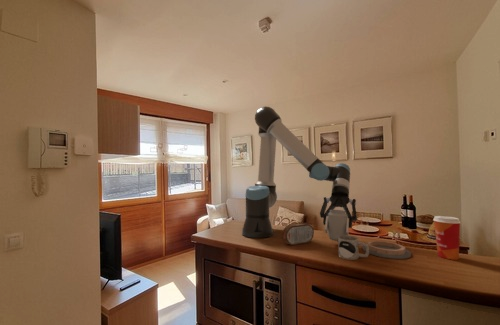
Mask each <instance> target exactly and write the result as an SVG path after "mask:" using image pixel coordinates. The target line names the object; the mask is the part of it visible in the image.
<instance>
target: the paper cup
mask: <svg viewBox="0 0 500 325" xmlns="http://www.w3.org/2000/svg"><path fill="white" fill-rule="evenodd" d="M432 221H433V223H434V230H435V231H434V232H435V241H436V248H437V250H436V251H437V256H438V257H439V258H441V259H446V260H450V259H451V261H458V260H459V256H460V229H461V228H460V227H461V226H460V225H461V223H462V222H461V221H460V218H458V217H454V216H446V215H443V216H442V215H434V218H433V219H432Z"/></svg>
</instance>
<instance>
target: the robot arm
mask: <svg viewBox="0 0 500 325" xmlns="http://www.w3.org/2000/svg"><path fill="white" fill-rule="evenodd" d="M254 121H255V124H256V125H257V126H258V133H257V134H258V136H259V138H260V146H259V147H260V148H259V158H258V159H259V160H258V163H259V164H258V175H257V181H256V182H255V183H254V185H252V186H248V187H247V188H246V189H245V194H244V195H245V220H244V222H243V225H242V226H243V227H242V229H241V235H242V234H243V235H242V236H244V237H247V238H252V239H255V238H256V239H261V238H269V237H272V236H273V235H274V229H273V227H272V222H271V219H270V208H272V207H273V206H274V205H275V203H276V202H277V198H278V197H277V196H278V195H277V184H276V183H275V181H274V179H275V178H274V177H275V162H276V150H277V149H276V148H277V142H278V143H280V145H281V146H282V147H284V149H285V150H286V151H287V152H288V153H289V154H290V155H292V157H293V158H295V160H296V161H297V162H298V163H299V164H300V165H301V166H302V167H304V169H305V170H307V172H308V176H309V179H314V180H316V181H322V182H323V181H327V182H332V186H331V194H330V197H327V196H326V197H323V203H322V205H321V209H320V212H319V217H320V218H322V219H323V221H322V223H323V224H322V225H323V226H324V233H326V234H328V213H329V212H330V210H336V208H342V209H343V211H345V214H346V215H347V226H346V235H347V236H350V234H349V233H350V232H349V230H350V229H351V228H353V222H357V221H358V215H357V210H356V209H357V208H356V205H357V199H356V198H353V199H350V196H349V195H350V181H351V168H350V166H349V165H348V164H346V163H337V164H336V165H335V166H330V165H327V164H325V163H324V162H323V161H322V160H320V158H319V157H317V155H315V153H314V152H312V150H310V149H309V148H308V147H307V146H306V145H305V144H304V143H303V142H302V141H301V140H300V139H299V138H298V137H297V136H296V135H295V134H294V133H293V132H292V131H291V130H290V129H289V128H288V127H287V126H286V125H285V124H283V122H282V118H281V116H280V115H279V114H278V113H277V112H276V110H275V109H274V108H272V107H270V106H262V107H259V108H258V109H257V110H256V112H255V115H254ZM329 203H330V204H329ZM349 203H350V205H351V209H352V214H351V212H350V210H349V208H348V206H347V205H348V204H349ZM328 204H329V206H328Z"/></svg>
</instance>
